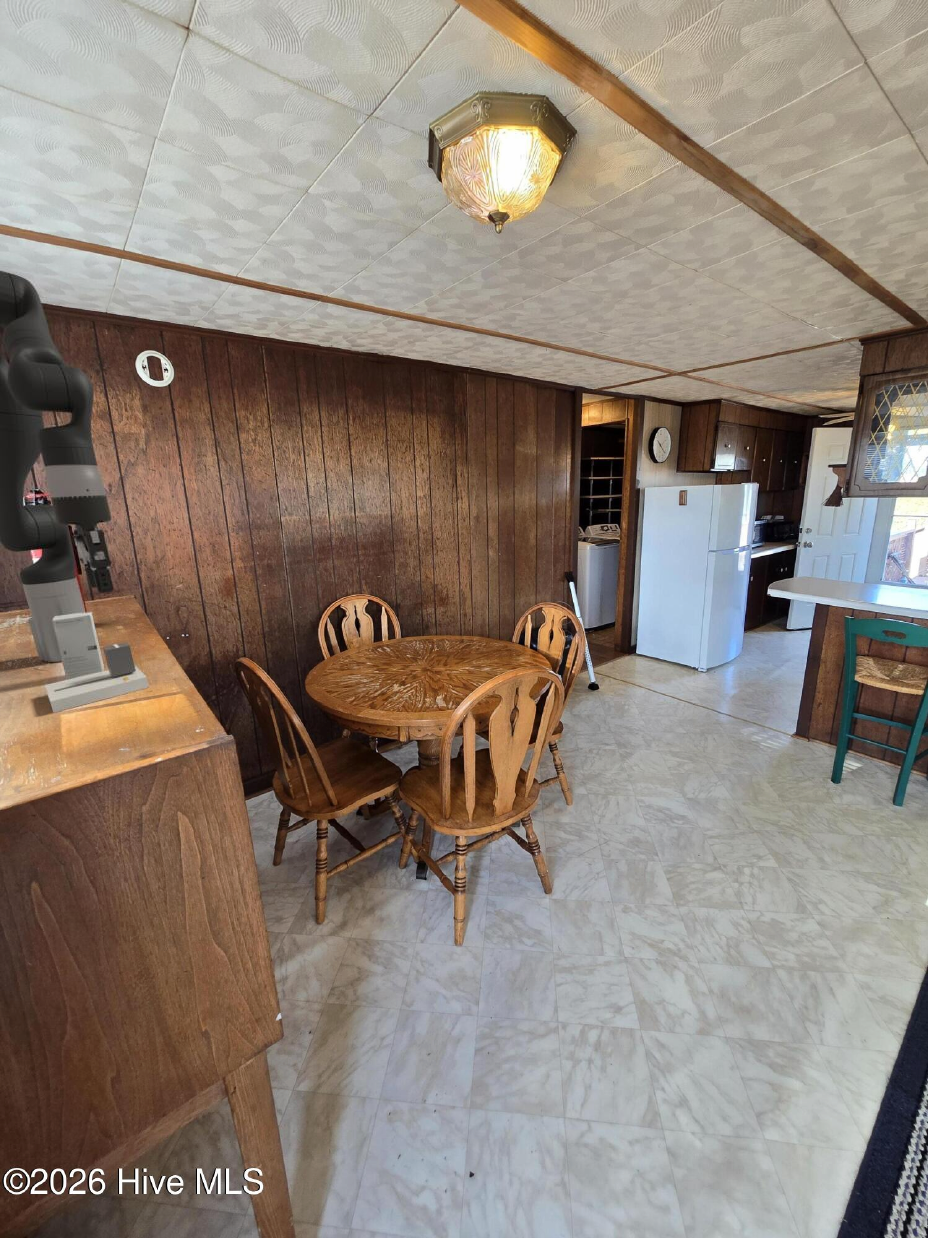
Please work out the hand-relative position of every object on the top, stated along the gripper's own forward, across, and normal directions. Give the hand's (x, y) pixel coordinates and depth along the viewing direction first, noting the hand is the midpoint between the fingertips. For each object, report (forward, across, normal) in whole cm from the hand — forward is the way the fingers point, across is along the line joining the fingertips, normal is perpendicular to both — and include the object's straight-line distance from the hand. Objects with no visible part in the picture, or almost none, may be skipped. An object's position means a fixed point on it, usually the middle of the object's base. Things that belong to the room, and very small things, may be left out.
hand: (101, 589), depth 87 cm
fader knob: (+15, 0, 0) cm, 15 cm away
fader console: (+18, 0, +4) cm, 18 cm away
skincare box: (+18, +14, +4) cm, 23 cm away
